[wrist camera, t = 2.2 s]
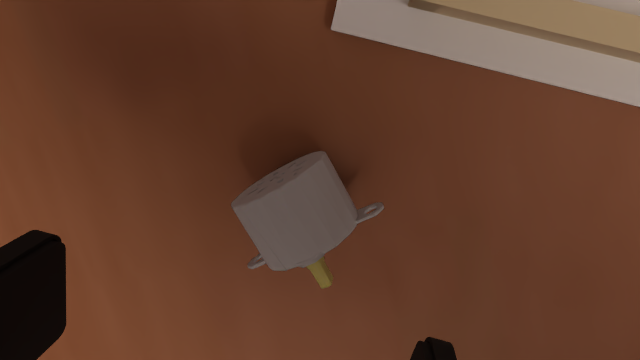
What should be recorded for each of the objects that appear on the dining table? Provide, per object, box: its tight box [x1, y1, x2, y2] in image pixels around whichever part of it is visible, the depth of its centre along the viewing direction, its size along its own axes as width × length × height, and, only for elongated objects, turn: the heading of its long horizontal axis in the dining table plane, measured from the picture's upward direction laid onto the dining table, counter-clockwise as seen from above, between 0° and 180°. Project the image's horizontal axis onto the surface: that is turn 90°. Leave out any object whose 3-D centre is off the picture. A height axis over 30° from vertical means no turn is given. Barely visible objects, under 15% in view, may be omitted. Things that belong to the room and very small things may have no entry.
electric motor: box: [231, 151, 384, 289], centre depth 17 cm, size 7×5×5 cm
